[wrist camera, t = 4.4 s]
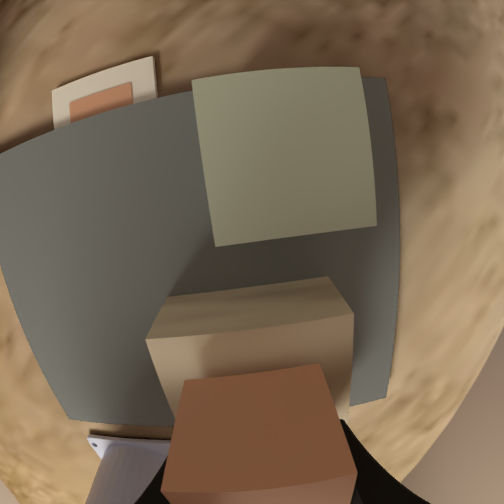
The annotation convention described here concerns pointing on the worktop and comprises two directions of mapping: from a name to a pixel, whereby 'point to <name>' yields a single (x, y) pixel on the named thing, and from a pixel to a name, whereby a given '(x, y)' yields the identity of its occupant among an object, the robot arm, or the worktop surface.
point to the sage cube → (285, 152)
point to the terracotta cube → (259, 441)
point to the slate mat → (166, 253)
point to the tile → (105, 91)
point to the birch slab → (255, 335)
